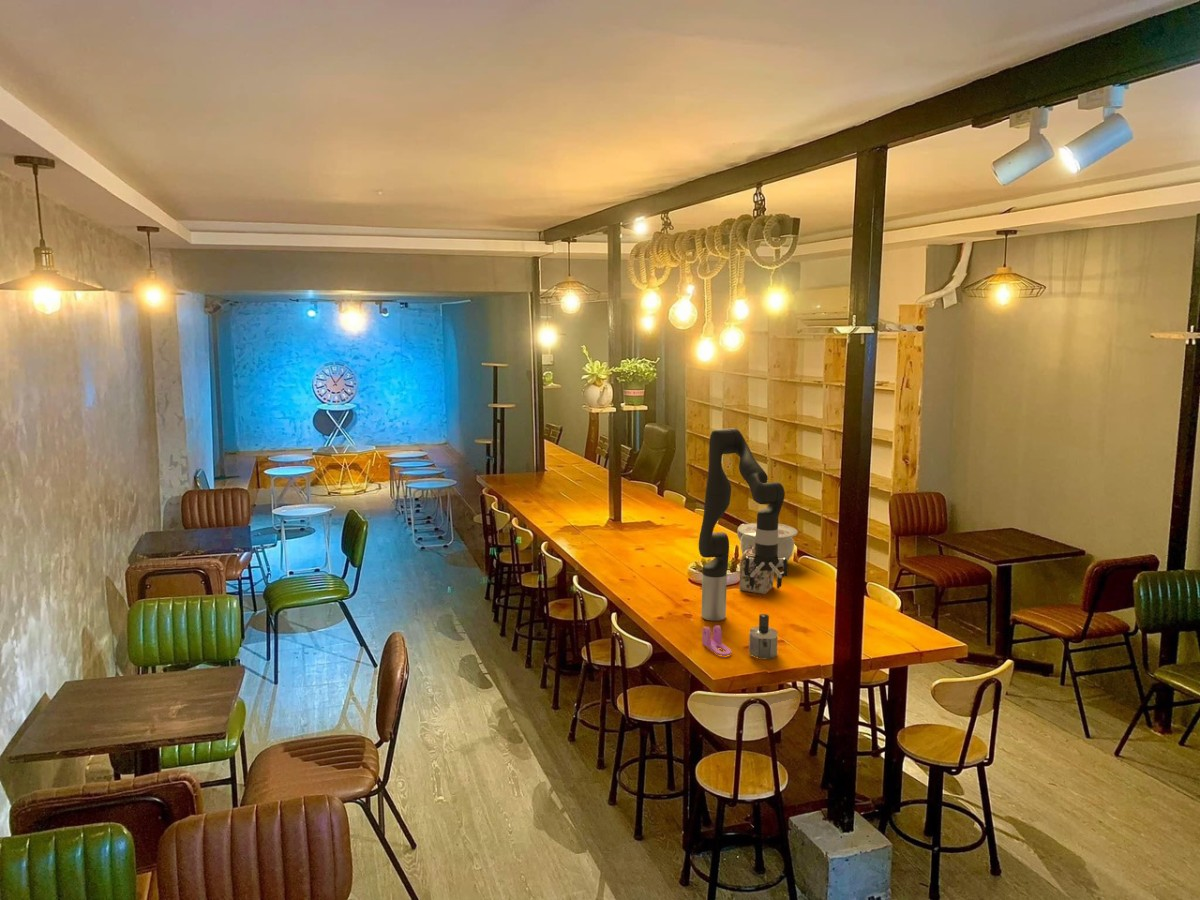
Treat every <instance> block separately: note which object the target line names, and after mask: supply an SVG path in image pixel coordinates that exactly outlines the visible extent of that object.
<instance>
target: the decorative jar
mask: <svg viewBox="0 0 1200 900" xmlns="http://www.w3.org/2000/svg"><path fill="white" fill-rule="evenodd" d="M746 556H748V557H749V558H754V556H755V547H752V549H749V550H746V551H744V553H743V554H741V558H740V565H739V591H742V592H749V593H754V594H760V595H766V594H767V593H768V592H769V591H770V590H771V589H772V588H773V587H774V579H775V578H774V577H775V576H774V575H775V572H774V571H773V570H771V571H761V570H759V571H758V572H757V573H756V574H755V575H754V588H752V587H751V586H750V584H749V576H747V575H745V573H744V566H745V557H746ZM755 565H756V564H755V563H754V561H752V563H751V564H749V571H751V570H752V569H753V567H754V566H755Z"/></svg>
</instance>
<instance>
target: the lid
mask: <svg viewBox="0 0 1200 900" xmlns="http://www.w3.org/2000/svg"><path fill="white" fill-rule="evenodd" d="M758 619H759V620H758V626H754V627H751V628H750V629H749V636H750V635H751V636H752V637H753V638H756V639H760V640H772V639H775V638H776V637H777V638H778V630H776V629H774V628H773V627H771V626H770V625H769V624H770V623H769V621H770V616H769V615H768V614H767V613H760V614H759V617H758Z"/></svg>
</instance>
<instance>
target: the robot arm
mask: <svg viewBox="0 0 1200 900" xmlns="http://www.w3.org/2000/svg"><path fill="white" fill-rule="evenodd" d="M708 443H709V444H708V469H707V481H706V487H705V496H704V508H703V517H702V523H701V528H700V532H699V537H698V538H699V539H698V551H699V552H698V553H699V555H700V556H701V557H702V558H705V559H707V558H713V560H711V561H709V562H708V563H705V564H704V565H703V566H702V573H701V574H702V575H701V576H702V579H701V580H702V581H701V618H702V619H704V620H705V621H706V620H707V621H711V622H712V621H713V622H717V621H718V622H719V621H723V620H725V619H726V616H727V615H726V613H727V611H726V610H727V576H728V568H729V567H728V566H729V557H730V556H729V555H730V540H729V537H728V534H727V533H725V532H723V531H720V532H714V529H715V526H716V525H717V522H719V520H720V519H721V518H722V517H723V515H724V514H725V512H726V511H727V510H728V508H729V506H730V503H731V495H732V485H731V482H730V480H729V478H728V476H727V474H726V472H725V470H724V468H723V463H722V462H723V461H722V459H723V455H731V454H736V455H737V456H738V457H739V462H738V464H739V465H738V471H739V474H740V475H741V477H742V478H743V480H744V481H745V482H746V483H747V484H748V487H749V489H750V492H751V496H752V499H753V501H754V502H755V503H756V504H758V505H767V506H766V507H765V508H764V509H761V510H759V511H758V512H757V514H756V522H757V529H756V539H755V556H754V558H749V557H748V556H746V557H745V566H744V573H745V575H747V576H749V584H750V586H751V587H752V588H754V575H755V574H756V573H757V572H758V571H759V570H761V571H771V570H773V571H774V574H776V588H777V589H780V588H781V587H782V584H783V583H782V580H783V577H788V574H789V573H788V562H787V559H786V558H785V557H783V558H779V559H778V541H779V539H778V523H779V517H780V514H781V511H782V507H783V504H784V501H785V488H784V486H783V484H782V483H781V482H778V481H774V482H773V481H771V482H768V479H769V477H768V474H767V473H766V471H765V470H764V469H763V467H761V465H760V464H759V462H757V460H756V458H755V457H754V454H752V451H751V449H750V447H749V445H748V443H747V441H746V440H745V438H744V436H743V433H742V432H741V431H740V430H738V429H737V428H734V427H729V428H717V429H716V428H715V429H714V430H712V432H711V433H710V436H709V441H708ZM752 561H754V563H755V564H756V565H755V566H754V567H753V569H752V570H751V571H749V564H751V563H752ZM779 562H780V563H781V565H783V566H782V571H780V570H779V569H778V568H777V567H776V565H777V564H778V563H779Z"/></svg>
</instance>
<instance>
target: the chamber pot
mask: <svg viewBox="0 0 1200 900" xmlns="http://www.w3.org/2000/svg"><path fill="white" fill-rule="evenodd" d="M756 529H757V521H756V522H749V523H742V524H740V525H739V526H738V528H737V532H736V533H737V538H738V539H739V542H740V551H741V555H743V553H744V551H746V550H749V549H752V547H755V539H756ZM798 533H799V531H798V529H796V528H795V527H793V526H791V525H787V524H784V523H783V524H782V523H779V522H778V539H779V541H778V559H779V558H783V557H785V558H786V559H787V563H788V562H789V560H790V559H791V557H792V556H793V552H794V548H795V541H794V538H793V537H795V536H797V534H798ZM776 567H777V569H778V568H781V567H782V568H783V565H781V563H780V562H779V563H778V564H777V565H776Z"/></svg>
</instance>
